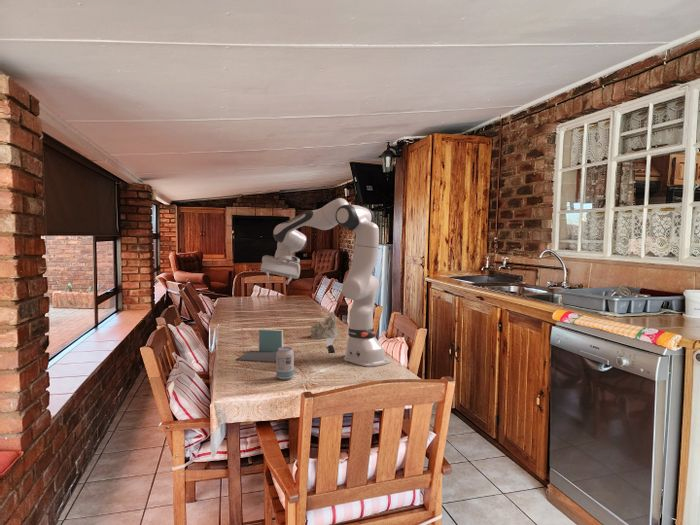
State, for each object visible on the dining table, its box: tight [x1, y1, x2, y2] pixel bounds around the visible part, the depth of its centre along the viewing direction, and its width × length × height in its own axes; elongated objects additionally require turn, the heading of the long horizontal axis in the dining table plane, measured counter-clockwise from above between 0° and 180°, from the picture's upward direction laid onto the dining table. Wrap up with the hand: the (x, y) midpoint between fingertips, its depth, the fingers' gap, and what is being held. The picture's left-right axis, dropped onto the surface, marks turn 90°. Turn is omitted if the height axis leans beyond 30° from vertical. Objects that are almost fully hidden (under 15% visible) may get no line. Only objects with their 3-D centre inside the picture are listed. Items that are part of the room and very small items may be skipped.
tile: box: [258, 328, 284, 352], centre depth 217 cm, size 2×12×11 cm, turn 79°
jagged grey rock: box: [310, 311, 339, 340], centre depth 252 cm, size 16×16×15 cm
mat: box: [235, 349, 277, 364], centre depth 208 cm, size 16×20×1 cm
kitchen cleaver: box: [325, 338, 336, 354], centre depth 230 cm, size 31×2×10 cm
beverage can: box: [275, 346, 295, 381], centre depth 177 cm, size 7×7×12 cm
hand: (277, 282), depth 224 cm, fingers open, 8 cm apart
